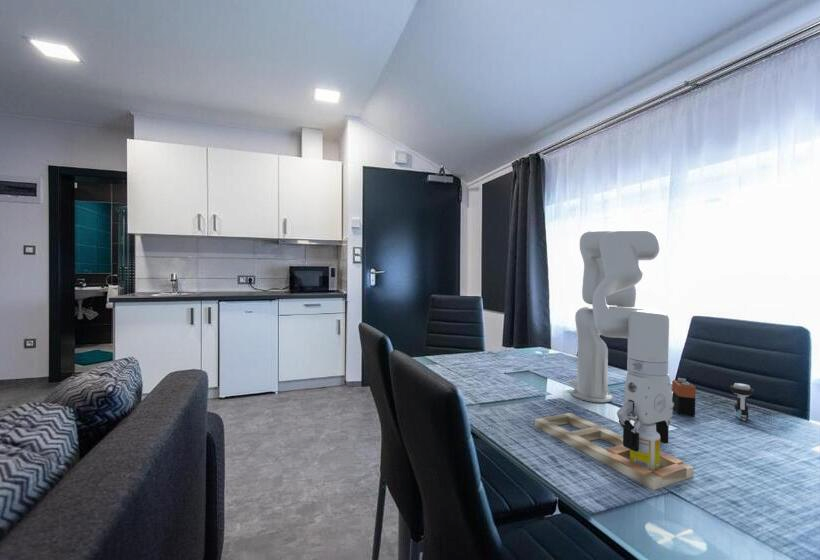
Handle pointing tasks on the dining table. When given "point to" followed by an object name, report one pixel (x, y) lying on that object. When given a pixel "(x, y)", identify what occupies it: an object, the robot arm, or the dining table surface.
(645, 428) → the supplement bottle
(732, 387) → the push button
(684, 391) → the battery
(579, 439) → the rack
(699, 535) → the dining table surface
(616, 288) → the robot arm
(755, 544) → the dining table surface
